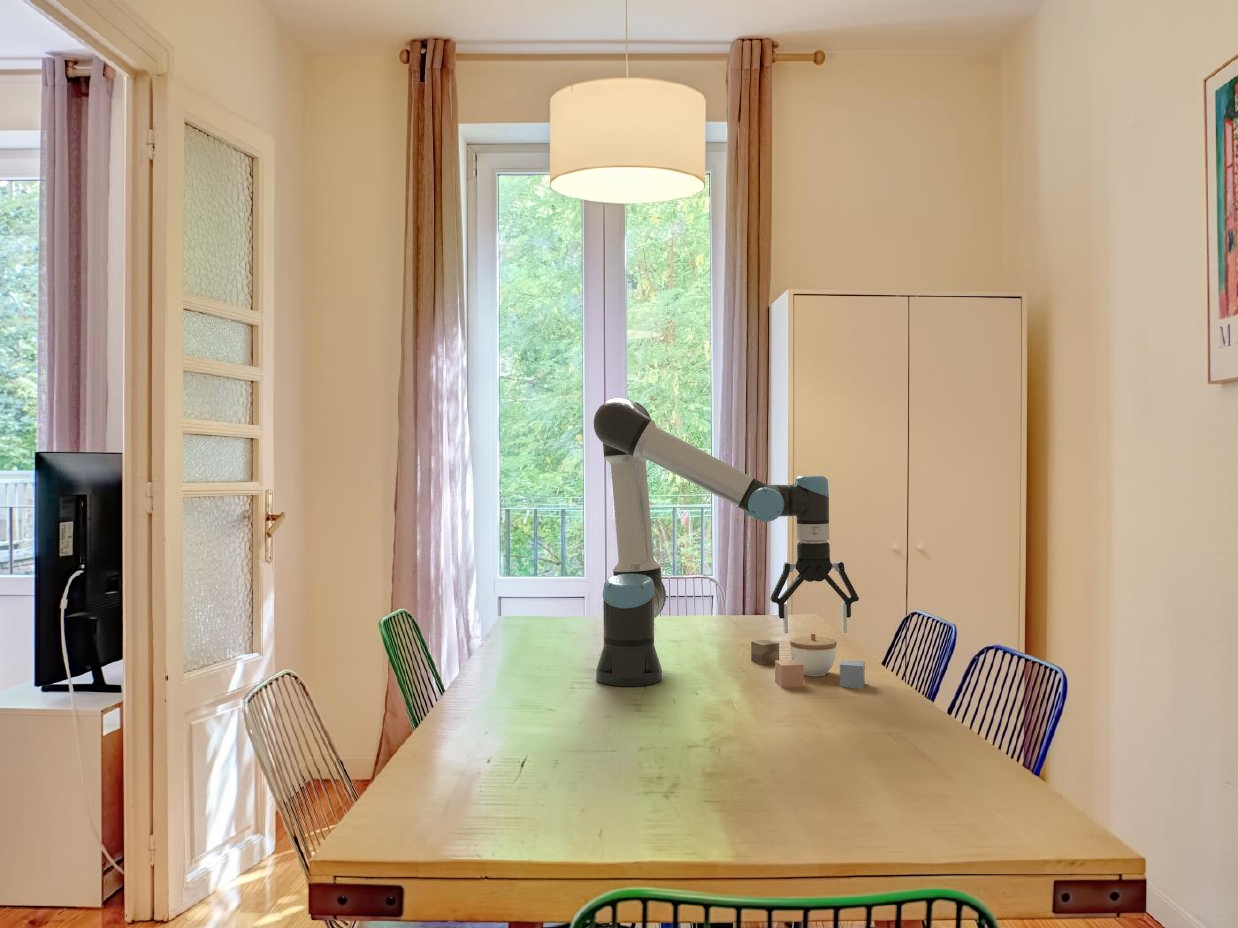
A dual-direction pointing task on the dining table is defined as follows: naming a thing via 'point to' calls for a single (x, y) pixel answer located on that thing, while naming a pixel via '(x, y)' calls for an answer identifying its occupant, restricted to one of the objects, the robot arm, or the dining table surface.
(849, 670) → the cube slate
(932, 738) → the dining table surface
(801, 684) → the cube terracotta
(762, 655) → the cube walnut
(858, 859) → the dining table surface
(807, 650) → the lidded jar
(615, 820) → the dining table surface
